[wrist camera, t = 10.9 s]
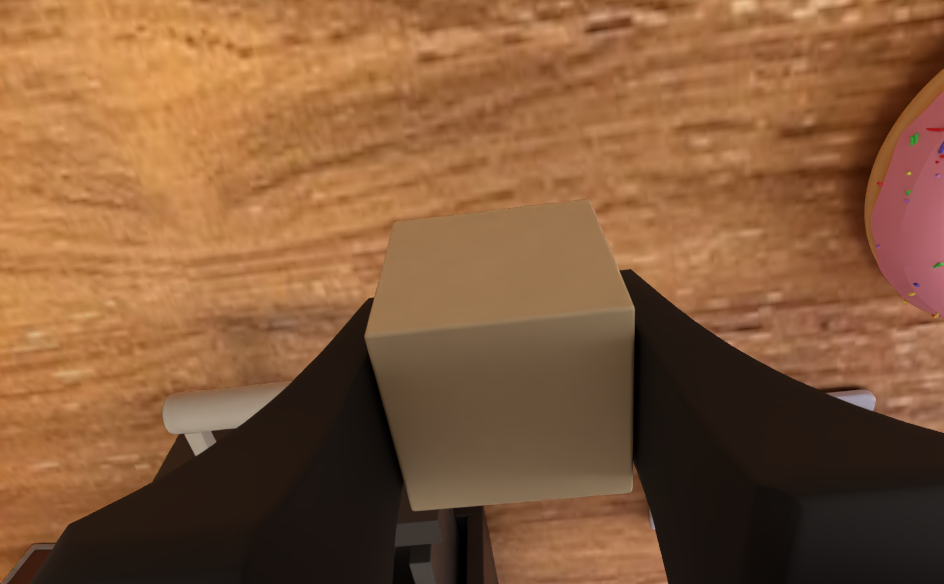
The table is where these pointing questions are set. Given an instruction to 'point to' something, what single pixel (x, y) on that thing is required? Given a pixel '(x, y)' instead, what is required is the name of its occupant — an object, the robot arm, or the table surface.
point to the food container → (28, 564)
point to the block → (505, 357)
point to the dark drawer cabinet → (476, 545)
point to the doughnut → (911, 201)
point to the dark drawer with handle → (224, 409)
